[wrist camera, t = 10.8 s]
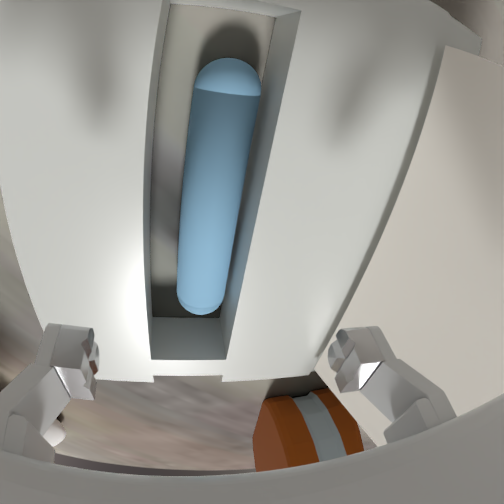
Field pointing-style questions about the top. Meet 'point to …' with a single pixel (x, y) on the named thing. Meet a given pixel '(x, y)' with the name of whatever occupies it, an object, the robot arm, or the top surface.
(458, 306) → the cover
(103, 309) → the base
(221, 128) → the light blue capsule
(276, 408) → the alarm clock
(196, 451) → the top surface
